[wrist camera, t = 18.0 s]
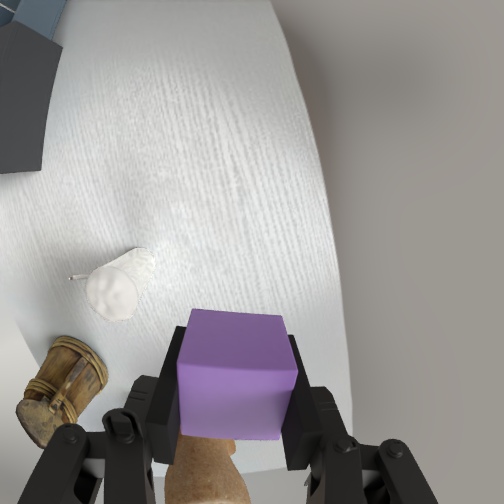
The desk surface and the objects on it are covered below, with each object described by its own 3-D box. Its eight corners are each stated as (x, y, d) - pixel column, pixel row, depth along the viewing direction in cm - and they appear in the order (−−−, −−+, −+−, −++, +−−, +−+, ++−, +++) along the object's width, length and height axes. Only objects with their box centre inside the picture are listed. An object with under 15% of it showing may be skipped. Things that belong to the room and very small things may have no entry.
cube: (191, 307, 14) (175, 362, 10) (282, 314, 14) (299, 371, 10) (191, 375, 15) (180, 435, 11) (269, 381, 16) (279, 440, 11)
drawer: (33, -25, 14) (7, -45, 7) (96, -48, 15) (75, -77, 8) (-11, 90, 19) (-51, 83, 12) (47, 73, 20) (5, 55, 13)
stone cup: (255, 445, 36) (263, 529, 22) (183, 455, 36) (174, 533, 22) (220, 378, 32) (216, 485, 18) (135, 392, 32) (103, 483, 18)
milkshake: (131, 225, 27) (83, 254, 17) (171, 261, 28) (141, 306, 18) (107, 258, 27) (58, 297, 18) (145, 292, 29) (111, 344, 19)
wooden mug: (140, 356, 31) (89, 481, 13) (89, 398, 33) (44, 493, 15) (85, 303, 29) (-7, 405, 11) (43, 356, 30) (-21, 440, 13)
